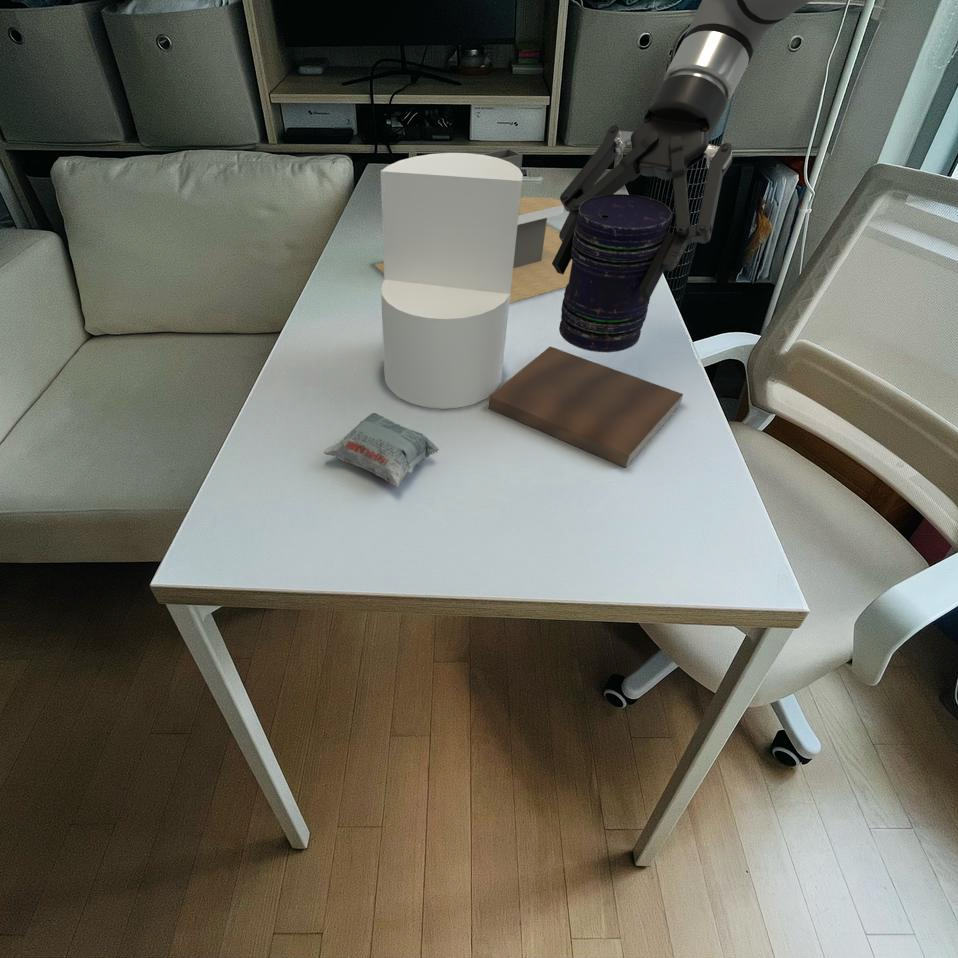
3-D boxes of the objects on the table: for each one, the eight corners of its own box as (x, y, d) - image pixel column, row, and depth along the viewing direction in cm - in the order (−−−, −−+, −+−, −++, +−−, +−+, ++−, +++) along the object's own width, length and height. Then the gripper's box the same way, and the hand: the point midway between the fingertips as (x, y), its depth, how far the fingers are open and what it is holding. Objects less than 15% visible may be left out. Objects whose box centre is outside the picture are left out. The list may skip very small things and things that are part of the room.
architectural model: (542, 222, 136) (556, 116, 123) (625, 269, 119) (652, 152, 105) (374, 264, 126) (368, 154, 112) (438, 323, 108) (441, 200, 95)
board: (679, 406, 89) (683, 393, 88) (625, 468, 81) (629, 455, 79) (548, 357, 99) (549, 346, 98) (488, 408, 91) (489, 396, 89)
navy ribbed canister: (600, 304, 87) (624, 187, 77) (658, 336, 80) (693, 213, 70) (541, 326, 84) (558, 207, 73) (597, 362, 77) (624, 236, 67)
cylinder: (404, 336, 106) (402, 149, 87) (512, 351, 101) (534, 157, 82) (367, 397, 94) (355, 196, 75) (487, 418, 89) (506, 208, 70)
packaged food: (399, 501, 78) (398, 470, 75) (323, 463, 84) (320, 433, 81) (439, 462, 83) (441, 431, 80) (366, 429, 89) (364, 399, 86)
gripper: (802, 129, 70) (701, 322, 72) (605, 101, 82) (523, 269, 84) (807, 82, 64) (695, 296, 66) (592, 60, 75) (504, 242, 78)
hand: (599, 281), depth 75 cm, fingers closed on navy ribbed canister, 10 cm apart
